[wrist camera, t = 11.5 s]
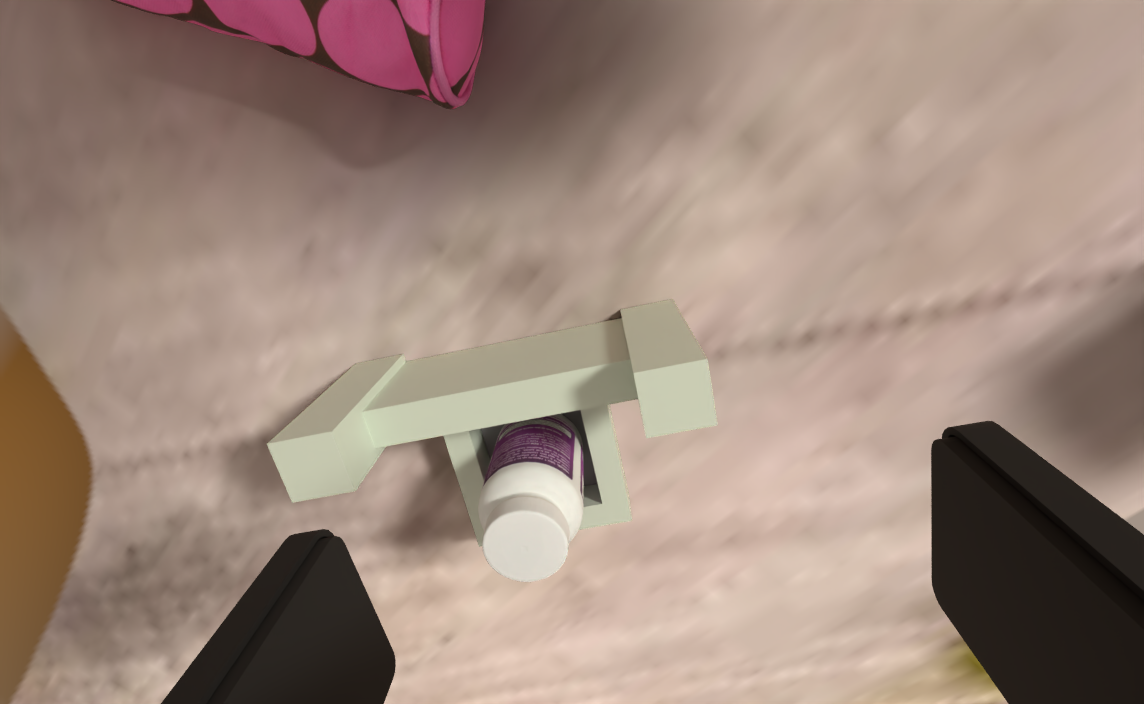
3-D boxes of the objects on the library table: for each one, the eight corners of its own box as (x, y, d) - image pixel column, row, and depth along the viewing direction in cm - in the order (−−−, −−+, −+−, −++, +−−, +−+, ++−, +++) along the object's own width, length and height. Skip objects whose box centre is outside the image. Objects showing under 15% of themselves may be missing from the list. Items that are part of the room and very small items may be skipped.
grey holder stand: (355, 363, 34) (266, 444, 25) (672, 298, 32) (707, 358, 23) (416, 533, 38) (360, 659, 29) (703, 484, 36) (744, 600, 27)
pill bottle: (479, 434, 35) (441, 532, 26) (551, 390, 34) (537, 476, 25) (530, 498, 37) (511, 612, 27) (600, 457, 36) (605, 563, 26)
